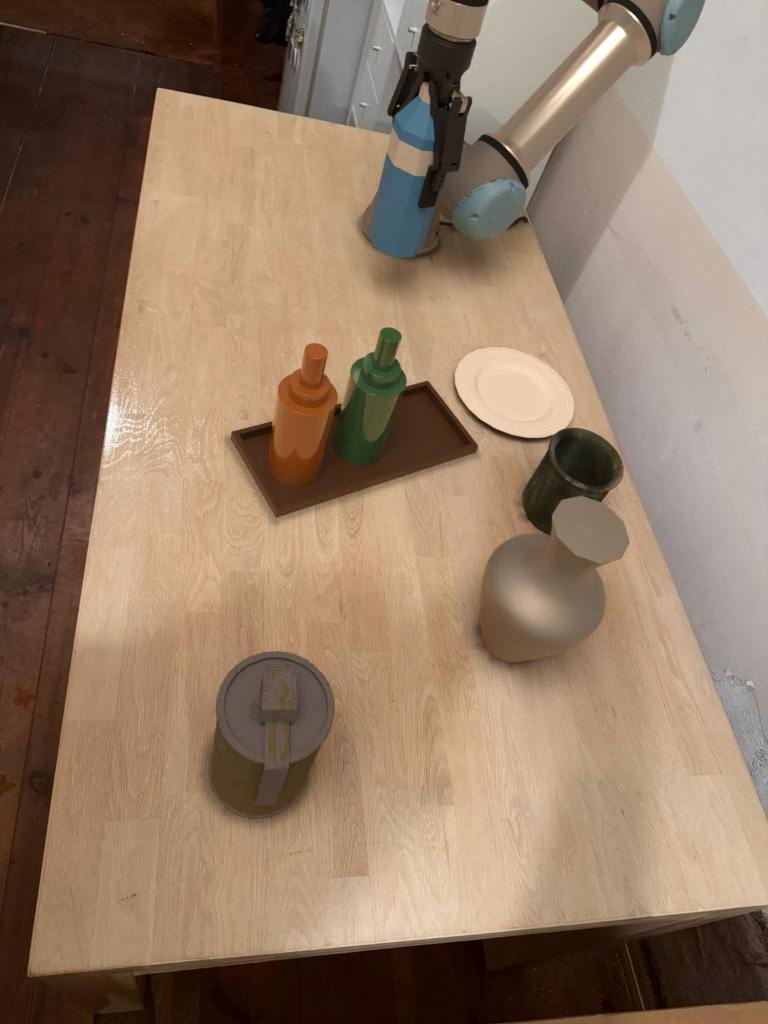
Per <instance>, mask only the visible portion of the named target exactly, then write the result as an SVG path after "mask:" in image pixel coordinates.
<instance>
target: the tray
mask: <svg viewBox="0 0 768 1024" xmlns="http://www.w3.org/2000/svg"><path fill="white" fill-rule="evenodd" d="M341 406H342V402H341V403H337V406H336V410H335V414H334V418H333V422H332V426H331V431H330V435H329V439H328V443H327V447H326V451H325V455H324V459H323V463H322V467H321V471H320V474H319V476H318V477H317V478H316V479H315V480H314V481H313V482H311V483H309V484H307V485H302V486H292V485H287V484H284V483H282V482H280V481H278V480H277V479H275V478H274V477H273V476H272V475H271V473H270V472H269V470H268V467H267V456H268V449H269V443H270V436H271V430H272V423H273V420H271V421H267V422H264V423H259V424H256V425H252V426H248V427H244V428H240V429H236V430H232V431H231V432H230V441H231V442H232V444H233V445H234V447H235V449H236V451H237V453H238V454H239V456H240V458H241V460H242V461H243V463H244V465H245V466H246V468H247V470H248V472H249V474H250V475H251V477H252V479H253V480H254V482H255V484H256V485H257V487H258V489H259V491H260V493H261V494H262V496H263V498H264V500H265V502H267V505H268V507H269V509H270V510H271V512H272V514H273V515H274V517H275V518H281V517H283V516H286V515H288V514H289V515H290V514H292V513H294V512H298V511H300V510H304V509H307V508H310V507H314V506H316V505H319V504H323V503H325V502H328V501H331V500H335V499H338V498H341V497H343V496H344V497H345V496H346V495H350V494H354V493H356V492H360V491H362V490H365V489H368V488H371V487H375V486H378V485H380V484H383V483H386V482H390V481H393V480H396V479H398V478H403V477H405V476H408V475H411V474H414V473H417V472H420V471H423V470H426V469H429V468H432V467H436V466H439V465H441V464H445V463H447V462H451V461H454V460H457V459H460V458H463V457H467V456H469V455H472V454H476V452H477V451H478V448H479V445H478V443H477V442H476V441H475V439H474V438H473V437H472V435H471V434H470V433H469V432H468V430H467V429H466V428H465V426H464V425H463V424H462V423H461V421H460V420H459V418H458V417H457V416H456V414H455V413H454V412H453V411H452V410H451V408H450V407H449V406H448V404H447V403H446V402H445V400H444V399H443V398H442V396H441V395H440V394H439V392H437V390H436V389H435V387H434V386H433V385H432V384H431V382H430V381H429V380H424V381H421V382H417V383H412V384H409V385H406V387H405V390H404V393H403V396H402V399H401V402H400V405H399V408H398V411H397V414H396V417H395V420H394V423H393V426H392V429H391V432H390V435H389V438H388V441H387V444H386V447H385V449H384V452H383V455H382V457H381V458H380V459H379V460H378V461H377V462H375V463H374V464H371V465H366V466H360V465H354V464H351V463H348V462H346V461H345V460H343V459H342V458H340V457H339V456H338V454H337V453H336V452H335V450H334V447H333V437H334V433H335V429H336V426H337V422H338V418H339V414H340V410H341Z"/></svg>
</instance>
